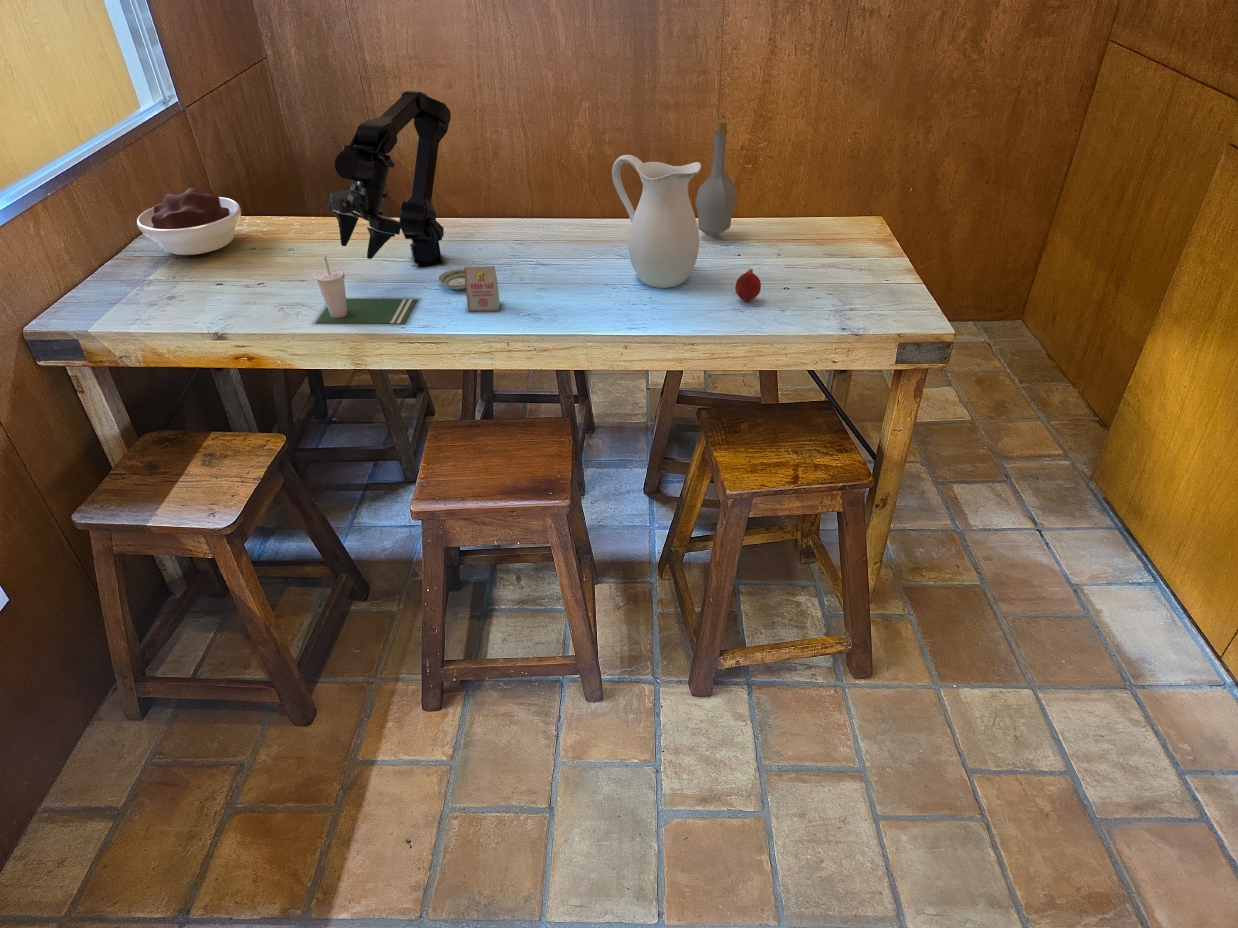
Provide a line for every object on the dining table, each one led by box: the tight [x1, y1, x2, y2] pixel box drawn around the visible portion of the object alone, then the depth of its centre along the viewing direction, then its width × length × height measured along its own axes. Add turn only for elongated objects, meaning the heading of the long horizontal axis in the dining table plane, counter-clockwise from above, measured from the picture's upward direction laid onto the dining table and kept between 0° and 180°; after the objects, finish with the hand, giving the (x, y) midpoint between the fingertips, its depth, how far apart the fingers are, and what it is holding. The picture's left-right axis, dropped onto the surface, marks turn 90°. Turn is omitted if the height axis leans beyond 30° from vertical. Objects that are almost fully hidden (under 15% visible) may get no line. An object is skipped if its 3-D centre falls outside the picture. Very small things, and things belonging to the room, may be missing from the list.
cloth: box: [315, 298, 418, 325], centre depth 180 cm, size 20×12×1 cm, turn 88°
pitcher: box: [611, 154, 702, 289], centre depth 186 cm, size 24×17×28 cm
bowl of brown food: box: [136, 187, 242, 256], centre depth 206 cm, size 25×25×15 cm
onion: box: [734, 268, 762, 303], centre depth 180 cm, size 6×6×8 cm
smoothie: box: [314, 255, 347, 318], centre depth 175 cm, size 6×6×14 cm
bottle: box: [694, 119, 738, 238], centre depth 204 cm, size 11×11×30 cm
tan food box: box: [463, 265, 501, 312], centre depth 178 cm, size 4×7×10 cm, turn 91°
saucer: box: [437, 268, 466, 291], centre depth 190 cm, size 10×10×2 cm
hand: (356, 252), depth 180 cm, fingers open, 9 cm apart
